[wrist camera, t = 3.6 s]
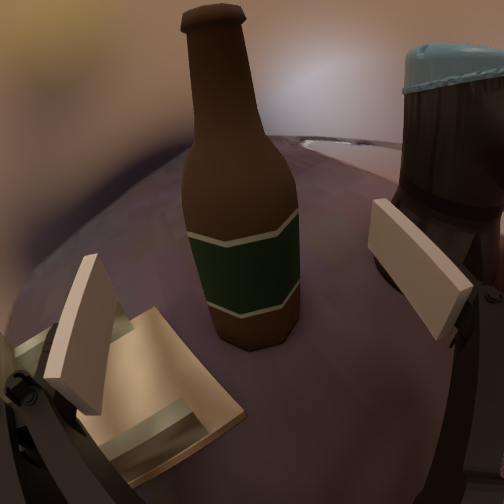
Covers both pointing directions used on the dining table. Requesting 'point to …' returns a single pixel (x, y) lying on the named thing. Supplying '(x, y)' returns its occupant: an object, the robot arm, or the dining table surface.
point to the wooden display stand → (144, 397)
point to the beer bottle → (237, 190)
